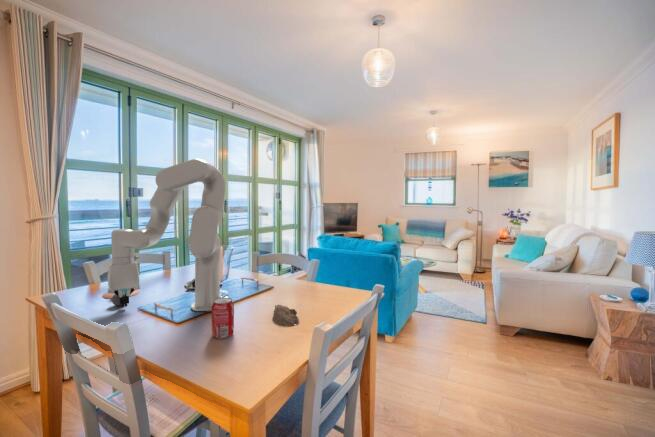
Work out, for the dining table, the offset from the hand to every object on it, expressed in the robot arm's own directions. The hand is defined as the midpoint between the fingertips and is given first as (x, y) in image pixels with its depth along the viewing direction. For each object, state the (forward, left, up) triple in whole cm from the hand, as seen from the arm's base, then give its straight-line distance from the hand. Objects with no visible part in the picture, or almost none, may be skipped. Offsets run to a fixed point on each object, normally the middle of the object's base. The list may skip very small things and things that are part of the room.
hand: (124, 305), depth 121 cm
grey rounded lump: (+4, -4, +1) cm, 6 cm away
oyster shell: (-64, +14, -2) cm, 66 cm away
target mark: (+12, -20, -2) cm, 23 cm away
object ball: (+9, -15, +1) cm, 18 cm away
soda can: (-44, +26, -2) cm, 50 cm away
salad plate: (-22, -31, -2) cm, 38 cm away
